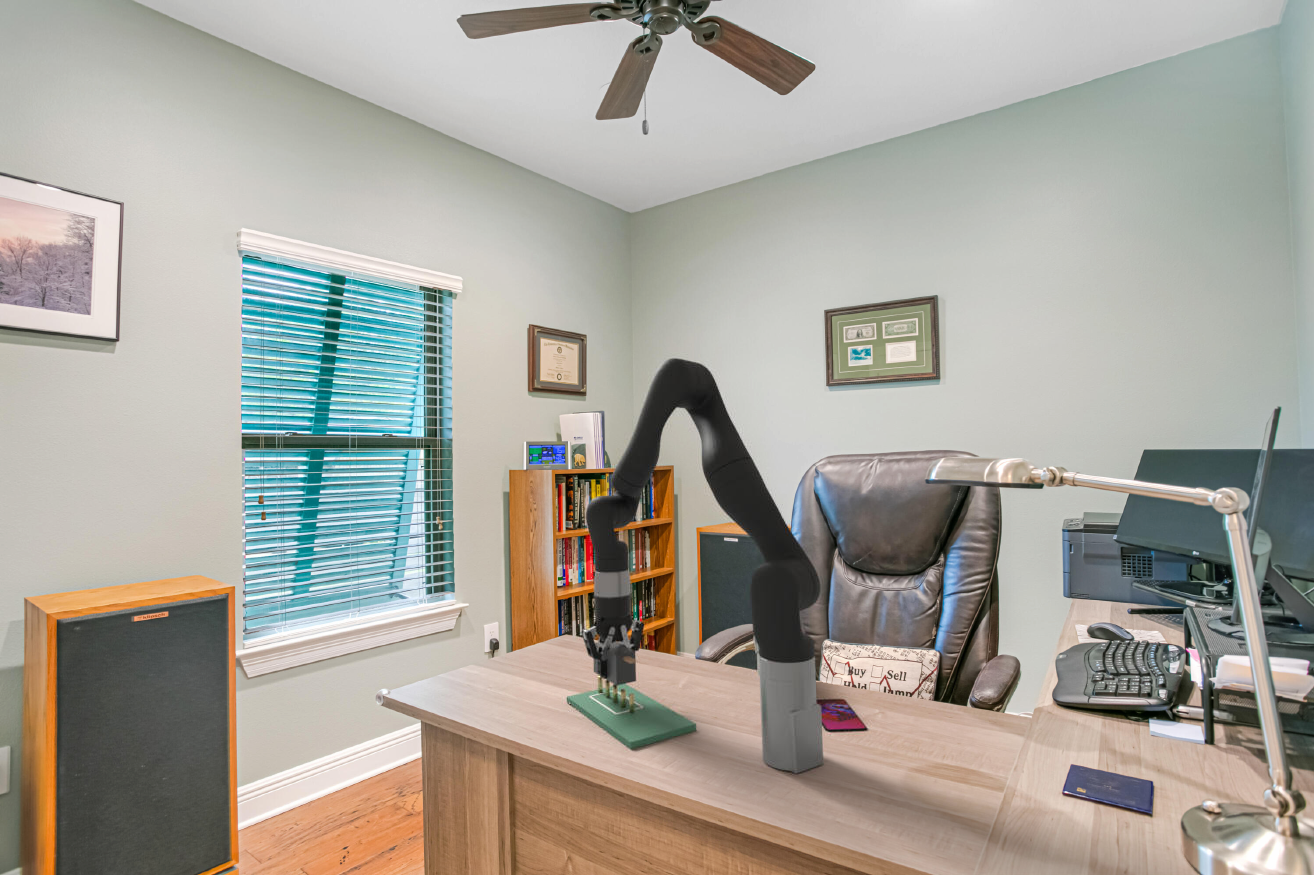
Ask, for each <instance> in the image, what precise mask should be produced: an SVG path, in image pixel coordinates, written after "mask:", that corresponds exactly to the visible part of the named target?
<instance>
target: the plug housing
mask: <svg viewBox="0 0 1314 875" xmlns="http://www.w3.org/2000/svg"><path fill="white" fill-rule="evenodd" d="M595 645H596V648H597V649H598V641H597V642H595ZM592 659H593V672H594V673H595V674H597V675H598V669H597V668H598V667H597V659H594V658H592ZM606 660H607V678H606V679H605V680H608V681H610V683H612V685H613V684H615V685H621V684H630V683H634V682H637V670H636V669H637V667H636V666H637V664H636V663H637V661H636V651H634V650H632V649H630V648H628V647H624V646H623V645H620V644H619V643H618V642H617V641H615V642H613V643H611V647H610V649H609V650H607V658H606Z"/></svg>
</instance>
